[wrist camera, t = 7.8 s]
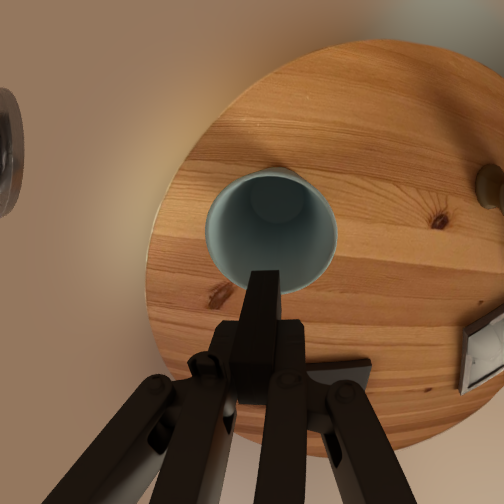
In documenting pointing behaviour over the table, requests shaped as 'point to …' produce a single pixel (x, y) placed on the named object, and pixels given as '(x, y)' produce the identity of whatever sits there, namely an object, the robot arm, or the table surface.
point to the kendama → (490, 187)
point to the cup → (271, 229)
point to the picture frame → (482, 350)
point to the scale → (340, 371)
